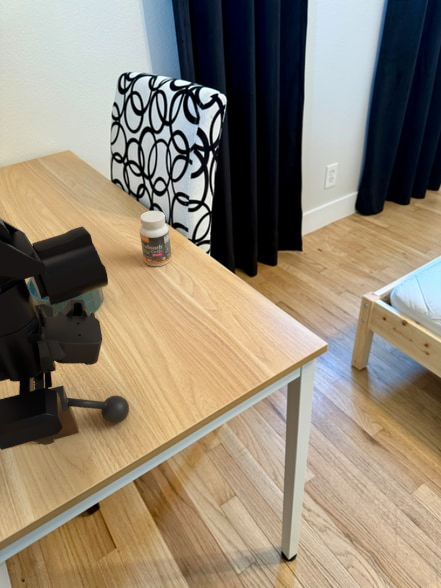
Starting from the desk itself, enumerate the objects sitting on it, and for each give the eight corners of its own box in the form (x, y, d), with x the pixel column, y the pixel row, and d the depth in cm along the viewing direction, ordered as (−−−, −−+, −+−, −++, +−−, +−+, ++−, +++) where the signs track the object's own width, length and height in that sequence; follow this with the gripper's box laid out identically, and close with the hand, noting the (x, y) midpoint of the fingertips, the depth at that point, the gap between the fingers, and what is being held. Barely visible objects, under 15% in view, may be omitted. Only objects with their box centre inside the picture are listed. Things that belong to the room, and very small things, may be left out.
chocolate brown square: (38, 444, 55) (26, 420, 51) (38, 436, 55) (26, 412, 52) (78, 432, 56) (69, 408, 53) (78, 425, 57) (68, 401, 54)
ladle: (128, 404, 59) (120, 366, 55) (132, 425, 57) (125, 387, 52) (40, 427, 56) (24, 389, 52) (40, 450, 54) (24, 412, 49)
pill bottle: (140, 266, 86) (133, 222, 80) (148, 251, 90) (141, 208, 84) (168, 268, 85) (163, 223, 79) (174, 252, 90) (170, 209, 83)
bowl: (34, 331, 71) (25, 308, 68) (35, 290, 80) (27, 268, 77) (107, 315, 74) (101, 292, 71) (99, 277, 83) (94, 255, 80)
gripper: (97, 361, 38) (126, 458, 48) (81, 255, 52) (105, 346, 62) (-39, 395, 35) (20, 491, 45) (-18, 274, 49) (24, 366, 59)
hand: (48, 413), depth 53 cm, fingers open, 8 cm apart
